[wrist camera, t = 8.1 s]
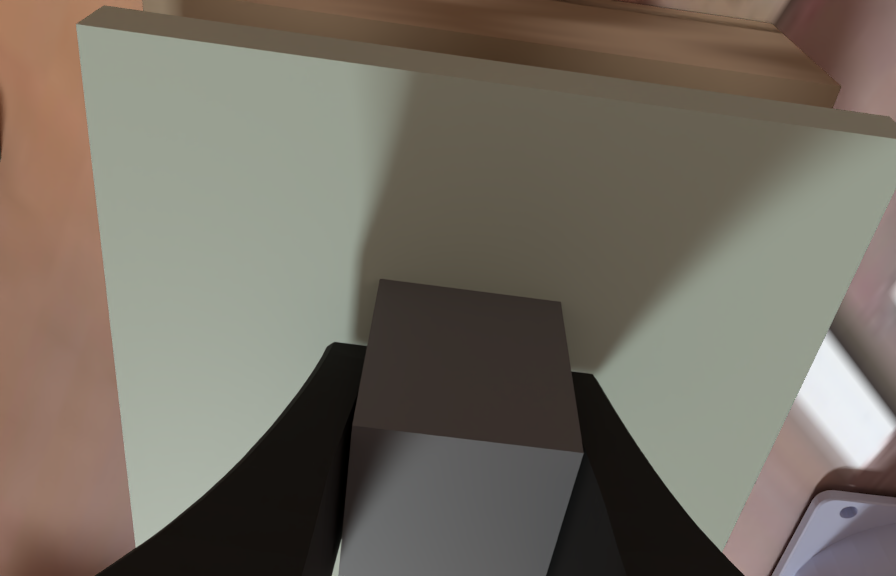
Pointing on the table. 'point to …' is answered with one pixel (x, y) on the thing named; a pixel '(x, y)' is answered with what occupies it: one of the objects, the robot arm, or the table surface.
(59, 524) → the table surface
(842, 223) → the lid
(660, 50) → the open wooden tray
